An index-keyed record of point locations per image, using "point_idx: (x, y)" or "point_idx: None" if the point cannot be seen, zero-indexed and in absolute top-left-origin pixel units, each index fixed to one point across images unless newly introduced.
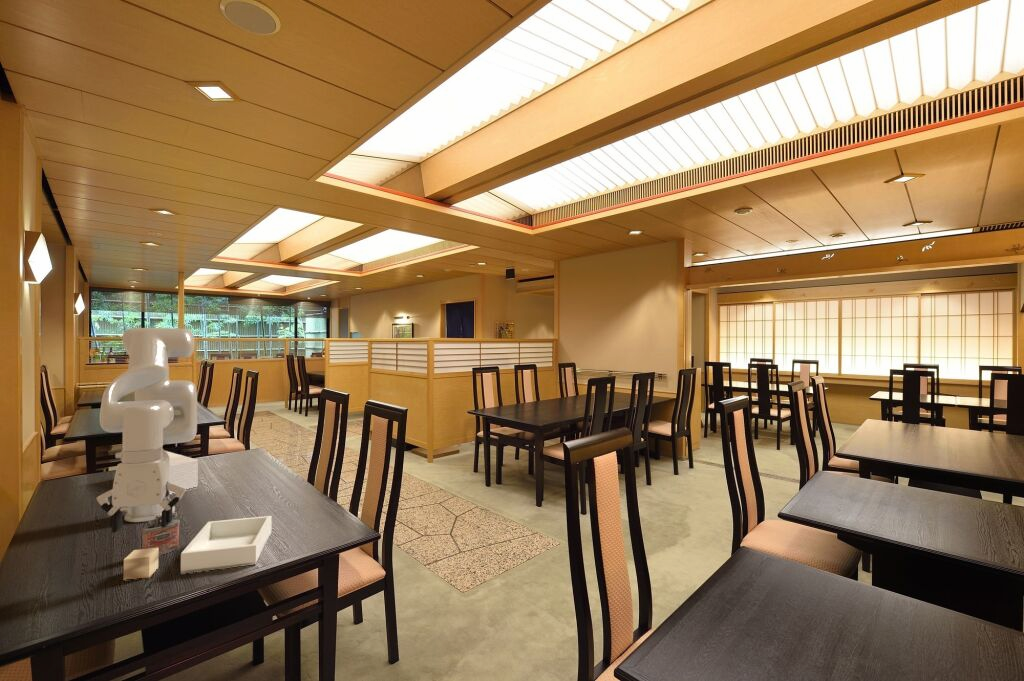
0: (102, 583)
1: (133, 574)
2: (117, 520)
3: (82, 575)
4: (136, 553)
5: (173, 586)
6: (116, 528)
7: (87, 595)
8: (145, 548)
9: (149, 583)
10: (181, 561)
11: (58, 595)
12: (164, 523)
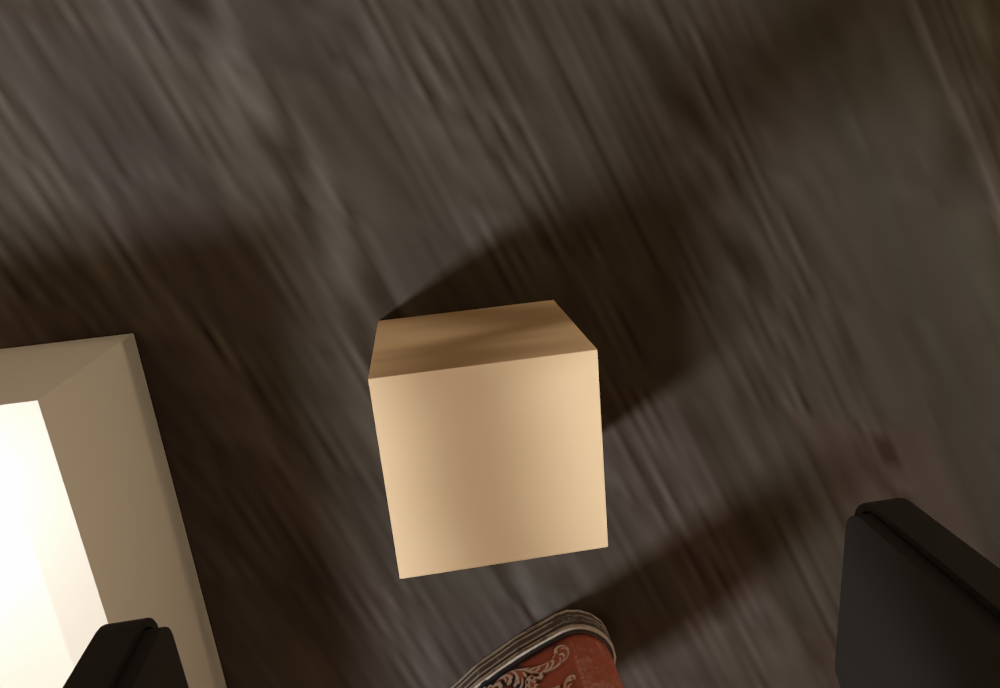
0: (685, 279)
1: (492, 318)
2: (987, 680)
3: (877, 424)
4: (546, 473)
5: (58, 117)
6: (883, 551)
7: (698, 96)
8: (593, 674)
9: (315, 215)
10: (76, 372)
11: (899, 141)
12: (71, 673)
